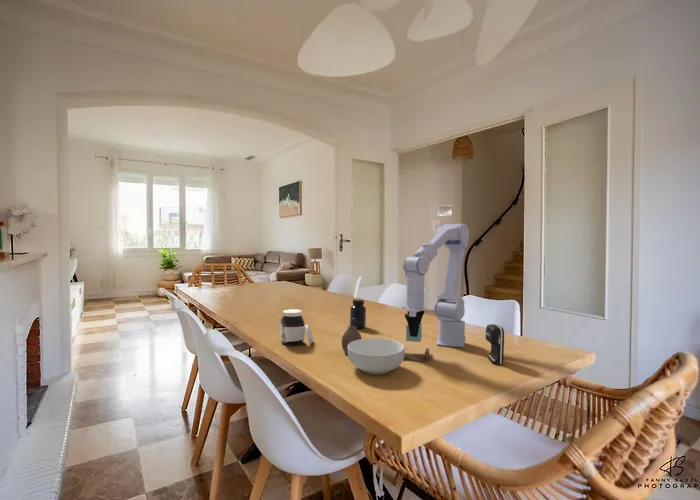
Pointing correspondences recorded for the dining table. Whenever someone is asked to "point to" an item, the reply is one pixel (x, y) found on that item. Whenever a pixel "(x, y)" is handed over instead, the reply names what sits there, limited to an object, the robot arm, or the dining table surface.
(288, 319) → the spread jar
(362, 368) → the cereal bowl
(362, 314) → the supplement bottle
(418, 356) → the brown angular piece
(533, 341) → the dining table surface
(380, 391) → the dining table surface
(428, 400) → the dining table surface
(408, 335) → the block
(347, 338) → the vase
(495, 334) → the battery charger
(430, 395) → the dining table surface
